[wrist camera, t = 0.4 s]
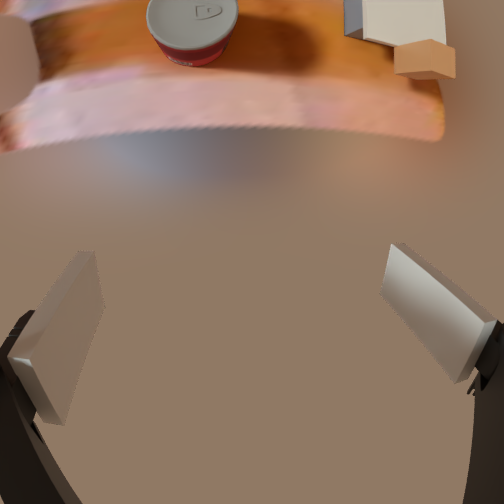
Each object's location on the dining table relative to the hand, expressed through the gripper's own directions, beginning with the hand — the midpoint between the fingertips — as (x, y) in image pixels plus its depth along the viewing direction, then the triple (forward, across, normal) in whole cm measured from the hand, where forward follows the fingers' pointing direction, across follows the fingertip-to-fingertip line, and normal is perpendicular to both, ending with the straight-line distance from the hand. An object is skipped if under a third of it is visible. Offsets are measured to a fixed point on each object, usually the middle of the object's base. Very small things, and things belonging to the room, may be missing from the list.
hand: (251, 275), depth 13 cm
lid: (+22, +21, +24) cm, 39 cm away
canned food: (+27, -3, +16) cm, 32 cm away
